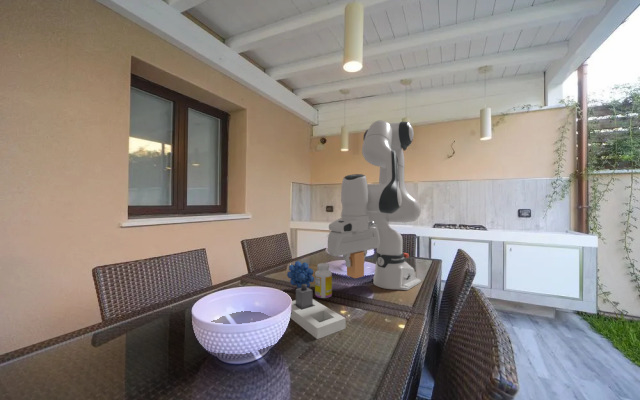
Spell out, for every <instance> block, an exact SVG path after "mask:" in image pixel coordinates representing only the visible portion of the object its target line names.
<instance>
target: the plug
mask: <svg viewBox="0 0 640 400" xmlns="http://www.w3.org/2000/svg"><path fill="white" fill-rule="evenodd" d="M349 259H350V261H352V265H353V266H352V267H346V276H348V277H350V278H352V279H358V278H362V277H364V276H365V263H364V252H362V251H360V252H356V253H351V254H350V257H349Z"/></svg>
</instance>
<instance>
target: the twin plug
mask: <svg viewBox="0 0 640 400" xmlns="http://www.w3.org/2000/svg"><path fill="white" fill-rule="evenodd" d="M313 296H314V295H313V289H311V288H310V287H307V285H306V284H302V285H301V288H296V289H295V300H296V306H297V307H298V308H299V309H301V310H302V309H306V308H309V307H313V299H314V298H313Z"/></svg>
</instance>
